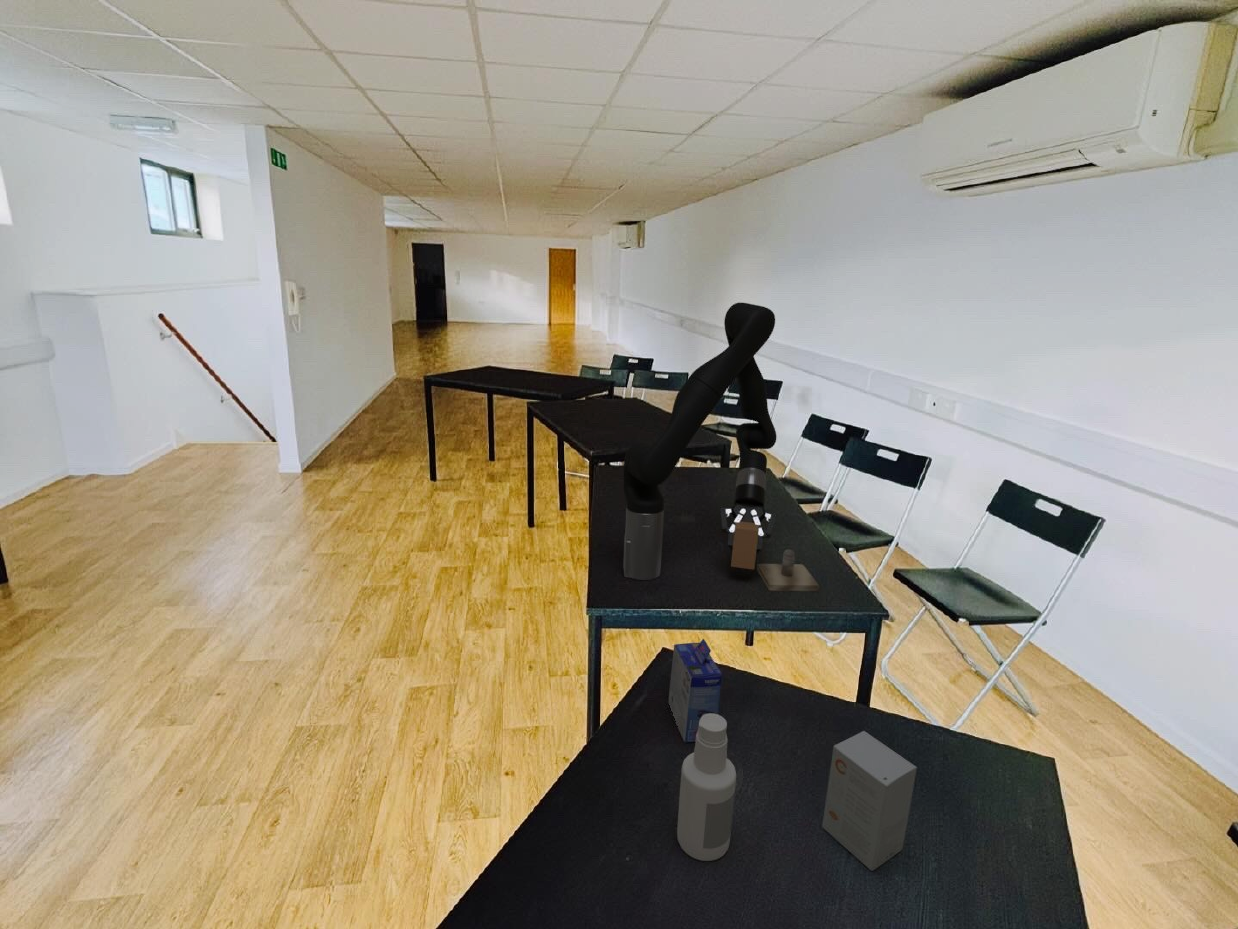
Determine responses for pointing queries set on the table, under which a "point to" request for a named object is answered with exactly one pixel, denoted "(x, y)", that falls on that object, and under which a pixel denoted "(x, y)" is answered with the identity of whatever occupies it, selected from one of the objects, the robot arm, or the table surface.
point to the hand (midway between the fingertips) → (744, 550)
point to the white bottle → (707, 793)
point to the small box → (868, 799)
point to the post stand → (787, 575)
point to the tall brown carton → (744, 545)
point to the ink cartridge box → (693, 687)
